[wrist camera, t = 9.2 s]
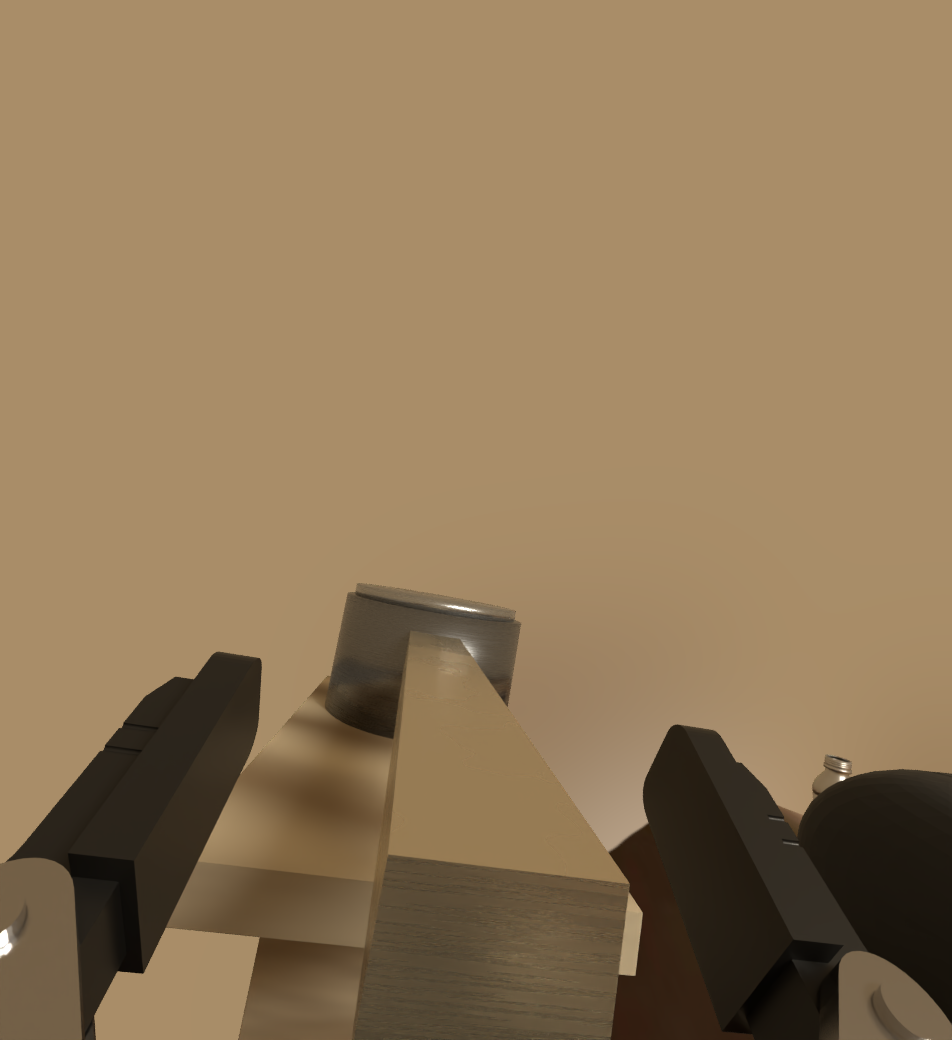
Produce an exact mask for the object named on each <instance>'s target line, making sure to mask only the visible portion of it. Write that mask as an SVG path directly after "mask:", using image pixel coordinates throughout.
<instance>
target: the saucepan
mask: <svg viewBox="0 0 952 1040" xmlns="http://www.w3.org/2000/svg"><path fill="white" fill-rule="evenodd" d="M515 613H516V611H514V610H511V609H507V608H503V607H498V606H493V605H489V604H484V603H479V602H473V601H469V600H463V599H458V598H453V597H447V596H442V595H435V594H430V593H424V592H418V591H412V590H406V589H400V588H393V587H386V586H379V585H372V584H362V583H358V584H357V587H356V592H350V593H348V595H347V600H346V604H345V609H344V615H343V619H342V624H341V629H340V633H339V638H338V643H337V648H336V653H335V658H334V662H333V667H332V672H331V677H330V682H329V687H328V691H327V696H326V701H325V708H326V710H327V711H328V712H329V713H330V714H331V715H332V716H333V717H335V718H336V719H338V720H339V721H341V722H343V723H345V724H347V725H349V726H351V727H354V728H356V729H359V730H362V731H365V732H368V733H371V734H374V735H378V736H382V737H386V738H390V739H393V745H392V753H391V760H390V767H389V774H388V781H387V788H386V796H385V803H384V810H383V817H382V824H381V832H380V839H379V846H378V853H377V860H376V868H375V875H374V882H373V889H372V896H371V904H370V911H369V918H368V925H367V932H366V939H365V947H364V954H363V961H362V968H361V975H360V983H359V990H358V997H357V1004H356V1011H355V1019H354V1026H353V1033H352V1040H610V1039H611V1031H612V1023H613V1015H614V1006H615V998H616V990H617V982H618V974H619V966H620V958H621V950H622V942H623V934H624V926H625V918H626V910H627V902H628V894H629V886H630V884H629V882H628V881H627V879H626V878H625V876H624V875H623V873H622V872H621V871H620V869H619V868H618V866H617V865H616V863H615V862H614V860H613V859H612V858H611V856H610V855H609V853H608V852H607V850H606V849H605V847H604V846H603V845H602V843H601V842H600V840H599V839H598V837H597V836H596V834H595V833H594V832H593V830H592V829H591V827H590V826H589V824H588V823H587V821H586V820H585V819H584V817H583V816H582V814H581V813H580V811H579V810H578V809H577V807H576V806H575V804H574V803H573V801H572V800H571V798H570V797H569V796H568V794H567V793H566V791H565V790H564V788H563V787H562V785H561V784H560V783H559V781H558V780H557V778H556V777H555V775H554V774H553V772H552V771H551V770H550V768H549V767H548V765H547V764H546V762H545V761H544V760H543V758H542V757H541V755H540V754H539V752H538V751H537V749H536V748H535V747H534V745H533V744H532V742H531V741H530V739H529V738H528V736H527V735H526V734H525V732H524V731H523V729H522V728H521V726H520V725H519V723H518V722H517V720H516V719H515V718H514V716H513V715H512V713H511V712H510V710H509V709H508V701H509V694H510V689H511V682H512V676H513V670H514V664H515V658H516V651H517V645H518V639H519V633H520V627H521V623H520V622H518V621H516V620H514V619H515Z"/></svg>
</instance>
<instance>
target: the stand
mask: <svg viewBox="0 0 952 1040" xmlns="http://www.w3.org/2000/svg"><path fill="white" fill-rule="evenodd" d="M330 677H331V676H327V677H326V678H325V679H324V680H323V681H322V683H321V684H320V685H319V686H318V687H317V688H316V689H315V691H314V692H313V693H312V694H311V695H310V696H309V697H308V698H307V700H306V701H305V702H304V703H303V704H302V705H301V706H300V708H299V709H298V710H297V711H296V712H295V713H294V714H293V715H292V717H291V718H290V719H289V720H288V721H287V722H286V724H285V725H284V726H283V727H282V728H281V729H280V730H279V731H278V732H277V734H276V735H275V736H274V737H273V738H272V739H271V740H270V742H269V743H268V744H267V745H266V746H265V747H264V748H263V749H262V751H261V752H260V753H259V754H258V755H257V756H256V757H255V759H254V760H253V761H252V762H251V763H250V764H249V765H248V767H247V768H246V769H245V770H244V771H243V772H242V773H241V774H240V775H239V777H238V779H237V782H236V784H235V786H234V788H233V790H232V792H231V794H230V796H229V798H228V800H227V802H226V804H225V806H224V808H223V810H222V812H221V815H220V817H219V819H218V821H217V823H216V825H215V827H214V829H213V831H212V833H211V835H210V837H209V839H208V841H207V843H206V845H205V848H204V850H203V852H202V854H201V856H200V858H199V860H198V862H197V864H196V866H195V868H194V870H193V872H192V874H191V876H190V879H189V881H188V883H187V885H186V887H185V889H184V891H183V893H182V895H181V897H180V899H179V901H178V903H177V905H176V907H175V909H174V912H173V914H172V916H171V918H170V920H169V922H168V924H167V926H166V927H167V928H177V929H187V930H196V931H205V932H216V933H225V934H235V935H245V936H255V937H260V939H259V944H258V948H257V953H256V958H255V963H254V967H253V973H252V977H251V982H250V987H249V991H248V996H247V1001H246V1006H245V1010H244V1015H243V1020H242V1025H241V1029H240V1034H239V1039H238V1040H352V1033H353V1026H354V1019H355V1011H356V1004H357V997H358V990H359V983H360V975H361V968H362V961H363V954H364V947H365V939H366V932H367V925H368V918H369V911H370V904H371V896H372V889H373V882H374V875H375V868H376V860H377V853H378V846H379V839H380V832H381V824H382V817H383V810H384V803H385V796H386V788H387V781H388V774H389V767H390V760H391V753H392V745H393V739H390V738H386V737H382V736H378V735H374V734H371V733H368V732H365V731H362V730H359V729H356V728H354V727H351V726H349V725H347V724H345V723H343V722H341V721H339V720H338V719H336V718H335V717H333V716H332V715H331V714H330V713H329V712H328V711H327V710H326V708H325V701H326V696H327V691H328V687H329V682H330ZM642 915H643V913H642V911H641V910H640V908H639V907H638V905H637V904H636V902H635V901H634V899H633V898H632V896H631V895H630V893H629V894H628V902H627V910H626V918H625V926H624V934H623V942H622V950H621V958H620V966H619V974H623V975H633V976H635V973H636V965H637V956H638V948H639V940H640V931H641V923H642Z"/></svg>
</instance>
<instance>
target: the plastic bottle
mask: <svg viewBox="0 0 952 1040" xmlns="http://www.w3.org/2000/svg"><path fill="white" fill-rule="evenodd" d="M851 766H852V763H851V761H849V760H847V759H844V758H841V757H838V756H833V755H825V763H824V767H826V768H825V771H823V772H822V773H821V774H820V775H819V776H817V778H816V779H815V780H814V782H813V785H812V790H813V800H814V799H815V798H816V797H817V796H818V795H819V794H820V793H821V792H823V791H824V790H825V789H826V788H828V787H830V786H831V785H833V784H835V783H837V782H839V781H841V780H844V779H847V778H850V777H849V774H852V771H851Z"/></svg>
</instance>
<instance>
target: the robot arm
mask: <svg viewBox="0 0 952 1040" xmlns="http://www.w3.org/2000/svg"><path fill="white" fill-rule="evenodd" d="M261 665H262V664H261V660H260V658H255V657H249V656H243V655H236V654H230V653H223V652H216V653H214V654H213V655H212V656H211V657H210V659H209V660H208V662H207V663H206V664H205V665H204V667H203V668H202V669H201V671H200V672H199V674H198V675H197V676H196V678H195V679H187V678H181V677H174V678H173V679H171V680H170V681H168V682H167V683H165V684H164V685H162V686H161V687H159V688H157V689H156V690H154V691H153V692H151V693H150V694H148V695H147V696H145V697H144V698H143V700H142V701H141V702H140V703H139V705H138V706H137V707H136V708H135V710H134V711H133V712H132V713H131V714H130V716H129V717H128V718H127V719H126V720H125V722H124V724H123V726H122V728H119V729H118V730H117V731H116V733H115V734H114V735H113V736H112V737H111V739H110V740H109V741H108V742H107V743H106V745H105V748H104V750H103V751H100V752H99V753H98V754H97V756H96V757H95V758H94V759H93V760H92V762H91V763H90V764H89V765H88V766H87V768H86V769H85V770H84V771H83V773H82V774H81V775H80V776H79V777H78V779H77V780H76V781H75V782H74V783H73V785H72V786H71V787H70V788H69V789H68V791H67V792H66V793H65V794H64V796H63V797H62V798H61V799H60V800H59V802H58V803H57V804H56V805H55V807H54V808H53V809H52V810H51V812H50V813H49V814H48V815H47V816H46V817H45V819H44V820H43V821H42V822H41V824H40V825H39V826H38V827H37V828H36V830H35V831H34V832H33V833H32V834H31V836H30V837H29V838H28V839H27V841H26V842H25V843H24V844H23V845H22V846H21V847H20V848H19V850H18V851H17V852H16V853H15V854H14V855H13V856H12V857H11V858H9V859H8V860H7V861H6V862H5V863H2V864H0V1040H96V1036H95V1021H94V1015H95V1013H96V1011H97V1009H98V1007H99V1005H100V1003H101V1001H102V999H103V997H104V995H105V994H106V992H107V990H108V988H109V986H110V984H111V982H112V980H113V978H114V976H115V974H116V973H117V971H120V972H131V973H142V974H143V973H144V971H145V969H146V967H147V965H148V963H149V961H150V959H151V957H152V955H153V953H154V951H155V948H156V947H157V945H158V942H159V940H160V938H161V936H162V934H163V932H164V930H165V928H166V926H167V924H168V922H169V920H170V918H171V916H172V914H173V912H174V909H175V907H176V905H177V903H178V901H179V899H180V897H181V895H182V893H183V891H184V889H185V887H186V885H187V883H188V881H189V879H190V876H191V874H192V872H193V870H194V868H195V866H196V864H197V862H198V860H199V858H200V856H201V854H202V852H203V850H204V848H205V845H206V843H207V841H208V839H209V837H210V835H211V833H212V831H213V829H214V827H215V825H216V823H217V821H218V819H219V817H220V815H221V812H222V810H223V808H224V806H225V804H226V802H227V800H228V798H229V796H230V794H231V792H232V790H233V788H234V786H235V784H236V782H237V779H238V777H239V775H240V773H241V771H242V769H243V767H244V765H245V763H246V761H247V759H248V756H249V754H250V752H251V749H252V746H253V743H254V740H255V736H256V732H257V728H258V720H259V705H260V687H261V670H262V666H261ZM643 803H644V809H645V813H646V816H647V819H648V822H649V825H650V828H651V831H652V833H653V836H654V839H655V842H656V845H657V848H658V850H659V853H660V856H661V859H662V862H663V865H664V868H665V870H666V873H667V876H668V879H669V882H670V885H671V888H672V890H673V893H674V896H675V899H676V902H677V905H678V907H679V910H680V913H681V916H682V919H683V922H684V925H685V927H686V930H687V933H688V936H689V939H690V942H691V944H692V947H693V950H694V953H695V956H696V959H697V962H698V964H699V967H700V970H701V973H702V976H703V979H704V982H705V984H706V987H707V990H708V993H709V996H710V999H711V1001H712V1004H713V1007H714V1010H715V1013H716V1016H717V1019H718V1021H719V1024H720V1027H721V1030H722V1031H723V1032H734V1033H745V1034H753V1037H754V1039H755V1040H952V774H949V773H939V772H929V771H919V770H904V769H899V770H887V771H874V772H869V773H864V774H860V775H857V776H854V777H850V778H847V779H844V780H841V781H839V782H837V783H835V784H833V785H831V786H830V787H828V788H826V789H825V790H824V791H823V792H821V793H820V794H819V795H818V796H817V797H816V798H815V799H814V800H813V801H812V802H811V804H810V805H809V807H808V808H807V810H806V812H805V814H804V815H803V817H802V820H801V823H800V826H799V830H798V837H796V835H795V834H794V832H793V831H792V829H791V827H790V826H789V824H788V823H786V822H784V816H783V814H782V813H781V811H780V810H779V808H778V806H777V805H776V803H775V801H774V800H773V798H772V797H771V795H770V794H769V792H768V790H767V789H766V788H765V787H764V786H763V784H762V783H761V782H760V781H759V780H758V779H756V777H755V776H754V775H753V774H752V773H751V772H750V771H749V770H748V769H747V768H746V767H745V766H744V765H743V764H742V763H738V762H736V761H735V759H734V758H733V756H732V754H731V753H730V751H729V749H728V748H727V746H726V744H725V743H724V741H723V739H722V738H721V736H720V735H719V734H718V733H717V732H716V731H713V730H709V729H703V728H696V727H690V726H683V725H673V726H672V727H671V728H670V729H669V731H668V732H667V735H666V737H665V739H664V741H663V743H662V745H661V747H660V749H659V751H658V753H657V755H656V758H655V759H654V762H653V764H652V766H651V768H650V770H649V772H648V774H647V776H646V779H645V782H644V787H643Z"/></svg>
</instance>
